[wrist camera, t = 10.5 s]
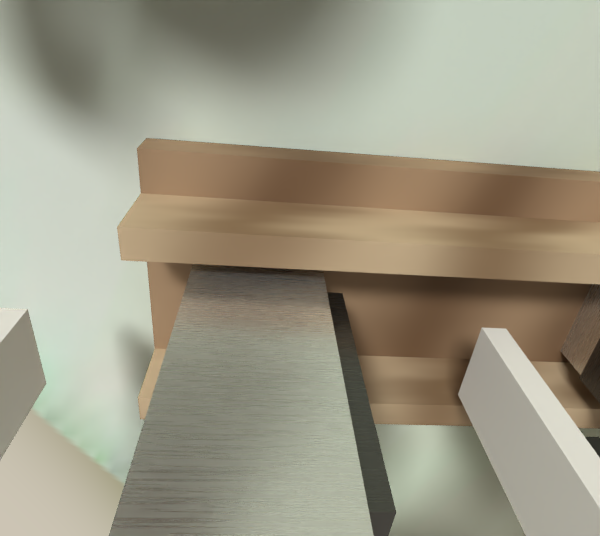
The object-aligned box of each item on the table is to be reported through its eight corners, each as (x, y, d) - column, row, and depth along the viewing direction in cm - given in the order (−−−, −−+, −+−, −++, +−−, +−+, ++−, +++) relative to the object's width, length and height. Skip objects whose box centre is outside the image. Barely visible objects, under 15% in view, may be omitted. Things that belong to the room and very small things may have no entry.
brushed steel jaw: (336, 251, 16) (417, 560, 7) (321, 342, 17) (370, 673, 9) (199, 242, 15) (101, 560, 6) (200, 337, 17) (125, 678, 8)
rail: (770, 184, 16) (890, 227, 13) (642, 387, 21) (708, 455, 18) (146, 137, 14) (110, 175, 11) (165, 373, 19) (143, 446, 16)
